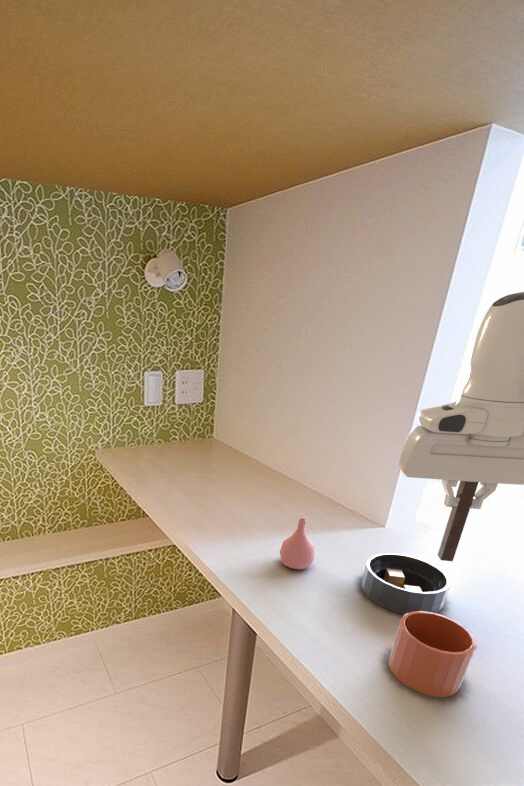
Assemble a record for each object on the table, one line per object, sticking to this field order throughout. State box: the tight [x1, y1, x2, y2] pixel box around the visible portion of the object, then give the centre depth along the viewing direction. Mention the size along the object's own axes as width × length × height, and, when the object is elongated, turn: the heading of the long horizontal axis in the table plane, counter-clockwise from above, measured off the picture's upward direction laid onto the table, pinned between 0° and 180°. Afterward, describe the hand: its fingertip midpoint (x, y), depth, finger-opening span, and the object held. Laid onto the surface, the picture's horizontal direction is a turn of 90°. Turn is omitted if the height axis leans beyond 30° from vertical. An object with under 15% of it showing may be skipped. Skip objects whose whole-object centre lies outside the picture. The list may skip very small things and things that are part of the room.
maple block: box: [384, 568, 405, 588], centre depth 92 cm, size 3×3×3 cm
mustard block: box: [403, 585, 422, 592], centre depth 86 cm, size 3×3×3 cm
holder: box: [388, 611, 478, 698], centre depth 68 cm, size 10×10×9 cm
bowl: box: [360, 552, 451, 615], centre depth 89 cm, size 15×15×6 cm
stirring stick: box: [437, 481, 480, 562], centre depth 68 cm, size 2×2×18 cm
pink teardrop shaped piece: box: [279, 517, 316, 570], centre depth 98 cm, size 8×8×12 cm
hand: (461, 506), depth 68 cm, fingers closed on stirring stick, 2 cm apart
